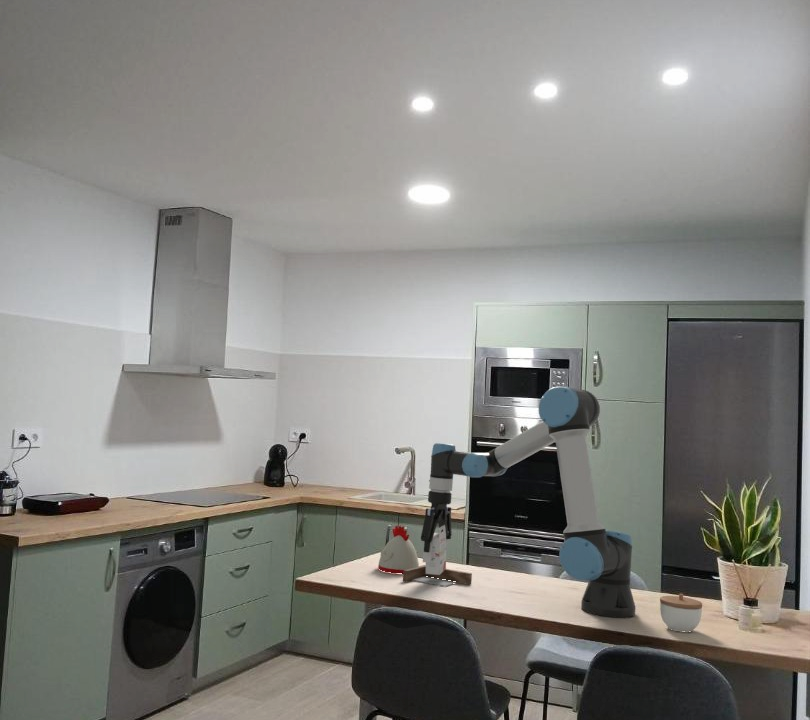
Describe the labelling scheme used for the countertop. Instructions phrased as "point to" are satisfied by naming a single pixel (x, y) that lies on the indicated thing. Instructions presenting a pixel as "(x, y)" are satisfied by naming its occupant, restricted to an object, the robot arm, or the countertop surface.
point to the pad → (434, 581)
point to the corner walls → (446, 574)
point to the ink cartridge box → (438, 553)
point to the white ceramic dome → (398, 553)
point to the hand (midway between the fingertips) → (434, 560)
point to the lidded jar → (680, 612)
